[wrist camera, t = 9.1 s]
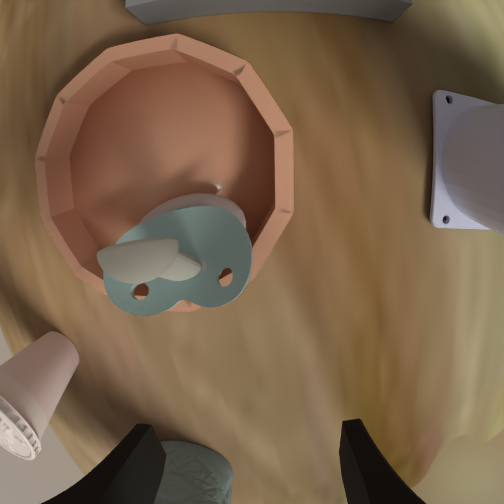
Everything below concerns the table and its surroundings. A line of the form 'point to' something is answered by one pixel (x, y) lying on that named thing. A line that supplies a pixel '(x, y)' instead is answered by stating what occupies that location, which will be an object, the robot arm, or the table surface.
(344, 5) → the gray square frame
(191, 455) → the grey green pot
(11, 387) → the smoothie
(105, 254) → the pacifier
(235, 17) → the table surface
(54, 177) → the bowl
